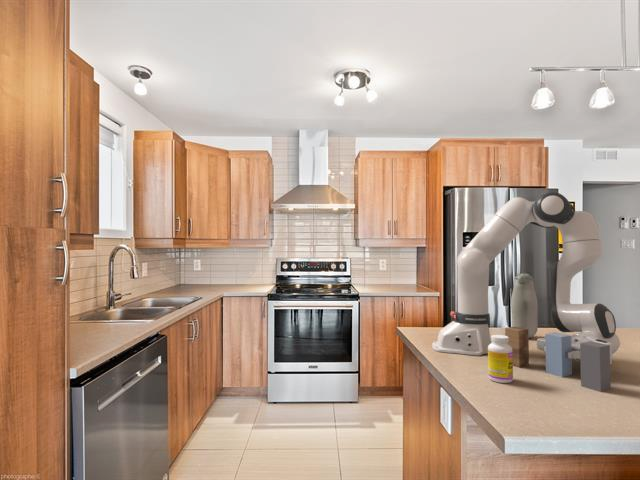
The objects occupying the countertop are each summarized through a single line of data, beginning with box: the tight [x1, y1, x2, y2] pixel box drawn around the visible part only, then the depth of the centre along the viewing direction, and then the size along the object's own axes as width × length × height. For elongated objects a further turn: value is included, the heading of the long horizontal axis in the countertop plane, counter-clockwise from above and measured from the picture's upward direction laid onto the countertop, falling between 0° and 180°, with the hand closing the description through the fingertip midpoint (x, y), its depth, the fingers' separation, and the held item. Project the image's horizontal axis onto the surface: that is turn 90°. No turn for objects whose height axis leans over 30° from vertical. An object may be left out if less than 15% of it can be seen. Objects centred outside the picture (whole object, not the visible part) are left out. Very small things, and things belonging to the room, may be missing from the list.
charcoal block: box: [579, 341, 612, 393], centre depth 107 cm, size 5×5×12 cm
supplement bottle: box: [487, 334, 514, 384], centre depth 113 cm, size 7×7×13 cm
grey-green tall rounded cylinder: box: [510, 273, 539, 339], centre depth 167 cm, size 10×10×28 cm
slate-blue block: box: [544, 332, 573, 378], centre depth 119 cm, size 5×5×12 cm
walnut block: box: [504, 326, 530, 369], centre depth 128 cm, size 5×5×12 cm
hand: (556, 352), depth 119 cm, fingers closed on slate-blue block, 5 cm apart
